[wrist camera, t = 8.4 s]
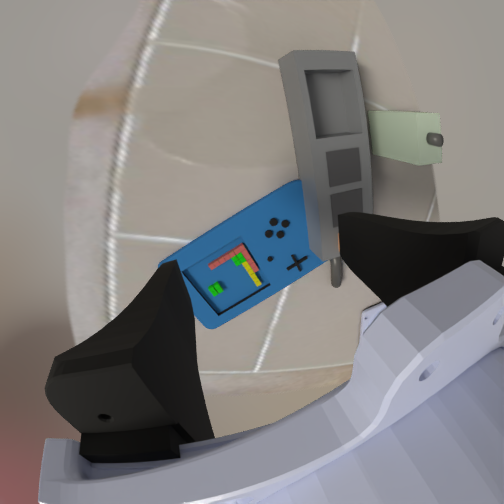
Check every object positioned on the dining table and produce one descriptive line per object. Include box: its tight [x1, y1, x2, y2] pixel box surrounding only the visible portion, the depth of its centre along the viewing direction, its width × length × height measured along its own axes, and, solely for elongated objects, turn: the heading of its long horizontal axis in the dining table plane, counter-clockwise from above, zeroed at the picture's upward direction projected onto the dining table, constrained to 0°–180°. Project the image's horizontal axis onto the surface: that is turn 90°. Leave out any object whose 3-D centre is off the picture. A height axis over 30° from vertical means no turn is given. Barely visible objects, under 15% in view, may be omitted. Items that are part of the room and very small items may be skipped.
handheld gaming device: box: [158, 180, 326, 329], centre depth 23 cm, size 8×1×15 cm
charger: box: [368, 111, 443, 166], centre depth 18 cm, size 4×3×7 cm
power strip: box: [278, 50, 373, 288], centre depth 21 cm, size 21×5×4 cm, turn 11°
